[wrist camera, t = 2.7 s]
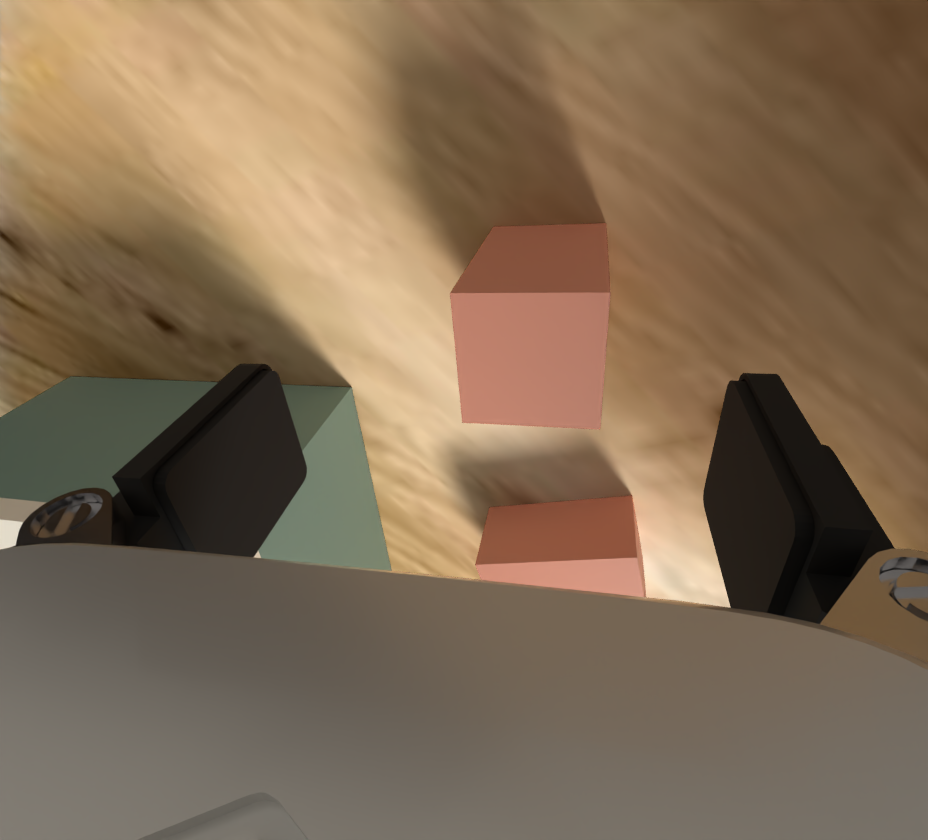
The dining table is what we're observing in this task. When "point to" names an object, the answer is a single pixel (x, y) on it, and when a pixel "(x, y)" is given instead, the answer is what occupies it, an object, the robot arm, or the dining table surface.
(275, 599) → the robot arm
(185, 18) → the dining table surface
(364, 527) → the green and cream box
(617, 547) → the block
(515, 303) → the salmon pink block
